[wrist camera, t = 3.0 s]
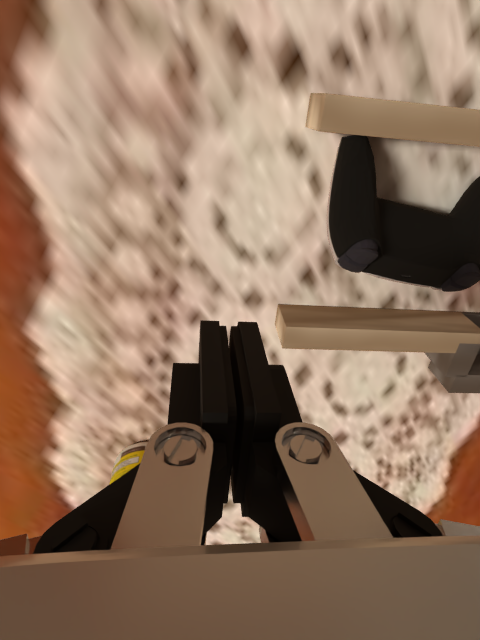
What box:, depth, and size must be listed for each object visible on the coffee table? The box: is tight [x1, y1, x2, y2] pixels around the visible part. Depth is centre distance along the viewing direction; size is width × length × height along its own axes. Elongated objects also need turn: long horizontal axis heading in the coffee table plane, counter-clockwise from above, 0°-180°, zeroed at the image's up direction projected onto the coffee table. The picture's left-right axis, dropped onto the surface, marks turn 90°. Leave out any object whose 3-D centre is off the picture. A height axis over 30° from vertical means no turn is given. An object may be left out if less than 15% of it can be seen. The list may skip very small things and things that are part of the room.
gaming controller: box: [327, 135, 480, 292], centre depth 23 cm, size 11×4×7 cm
